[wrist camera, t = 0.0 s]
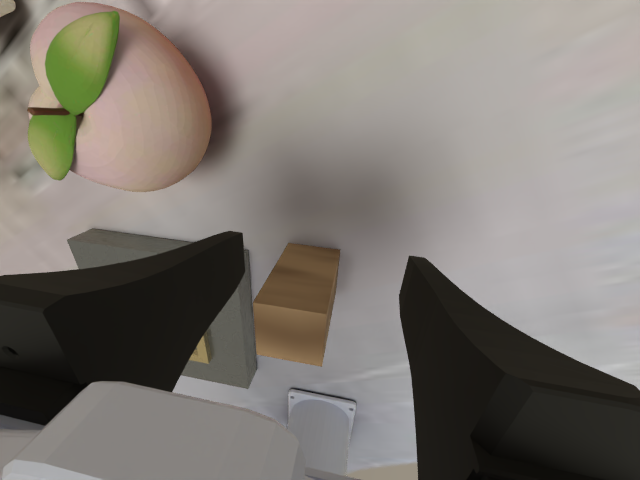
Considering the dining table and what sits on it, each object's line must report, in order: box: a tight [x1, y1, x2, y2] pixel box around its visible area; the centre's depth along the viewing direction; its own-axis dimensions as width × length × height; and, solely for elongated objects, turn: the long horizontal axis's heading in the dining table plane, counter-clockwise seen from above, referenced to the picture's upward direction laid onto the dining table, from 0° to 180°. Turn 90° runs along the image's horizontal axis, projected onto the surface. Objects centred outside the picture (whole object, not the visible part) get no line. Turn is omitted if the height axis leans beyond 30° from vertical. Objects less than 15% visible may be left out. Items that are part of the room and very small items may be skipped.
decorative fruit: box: [27, 2, 211, 192], centre depth 15 cm, size 9×8×10 cm
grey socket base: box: [67, 229, 257, 389], centre depth 27 cm, size 16×16×3 cm
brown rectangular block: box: [253, 243, 340, 367], centre depth 20 cm, size 4×4×8 cm
